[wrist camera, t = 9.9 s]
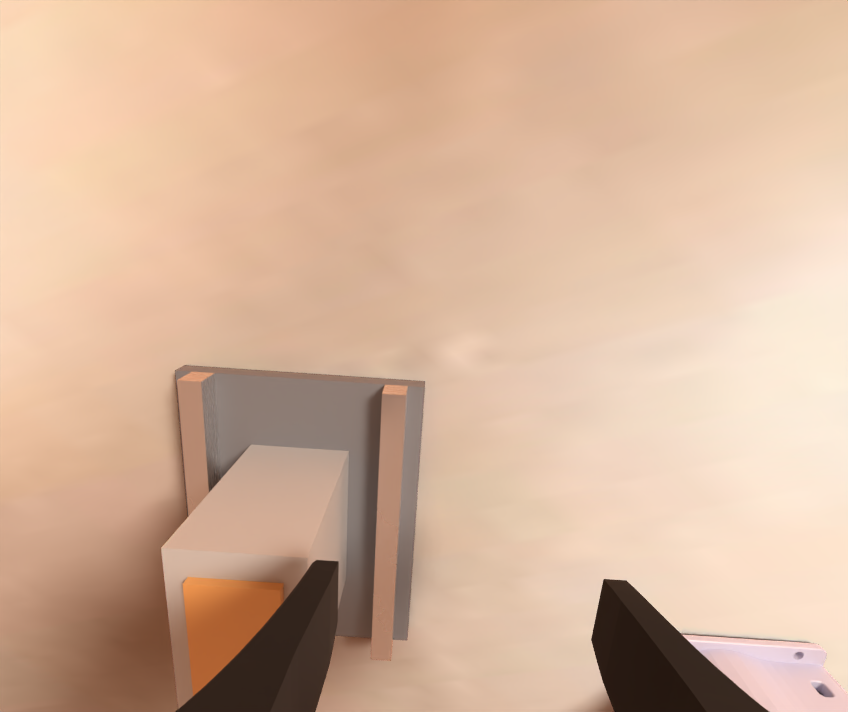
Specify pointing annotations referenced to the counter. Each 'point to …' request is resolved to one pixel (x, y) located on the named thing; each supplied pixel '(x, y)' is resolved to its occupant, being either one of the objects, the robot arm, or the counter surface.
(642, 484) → the counter surface
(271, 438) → the rail mount
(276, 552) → the module block
